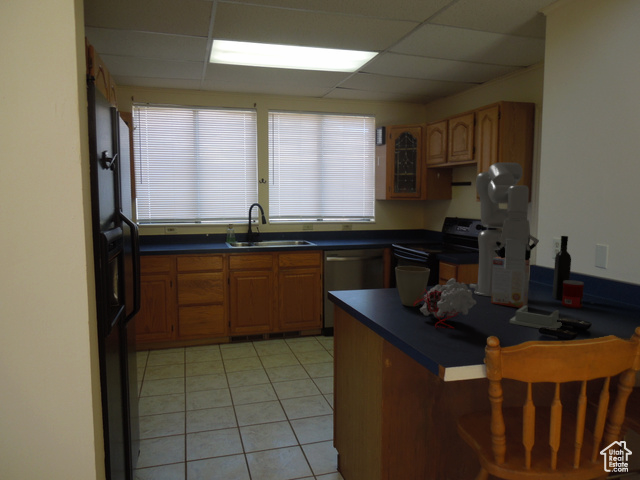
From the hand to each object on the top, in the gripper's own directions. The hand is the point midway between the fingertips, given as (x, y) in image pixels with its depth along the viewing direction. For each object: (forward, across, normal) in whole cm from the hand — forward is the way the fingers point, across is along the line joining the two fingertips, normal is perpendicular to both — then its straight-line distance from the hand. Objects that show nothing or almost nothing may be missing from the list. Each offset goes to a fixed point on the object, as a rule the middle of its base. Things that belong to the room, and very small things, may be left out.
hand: (514, 259), depth 185 cm
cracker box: (+23, -6, +16) cm, 29 cm away
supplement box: (+4, 0, 0) cm, 5 cm away
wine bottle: (+22, +8, +47) cm, 53 cm away
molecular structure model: (+23, -14, -34) cm, 43 cm away
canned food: (+23, +16, +34) cm, 44 cm away
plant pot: (+23, -39, -13) cm, 47 cm away
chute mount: (+23, +11, -7) cm, 27 cm away
